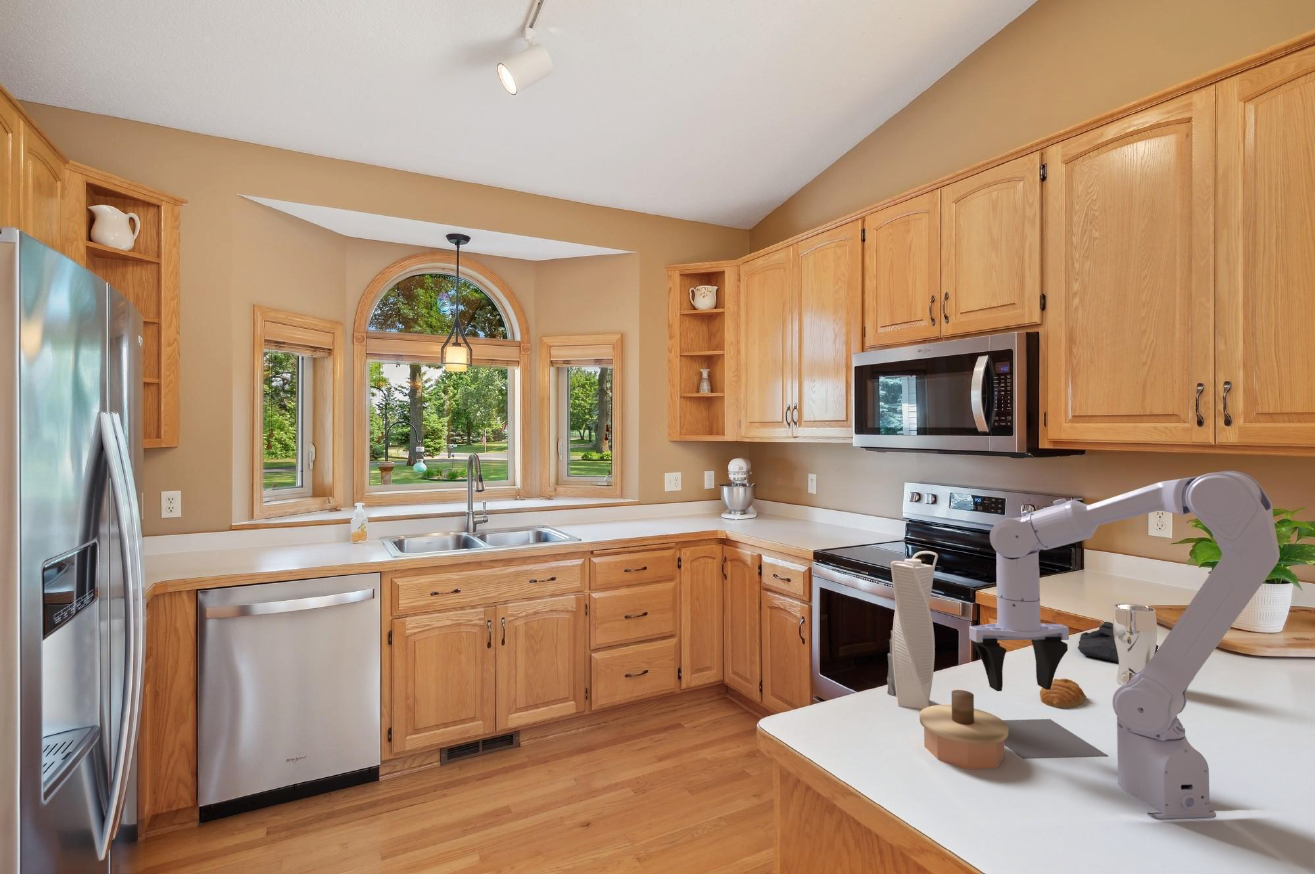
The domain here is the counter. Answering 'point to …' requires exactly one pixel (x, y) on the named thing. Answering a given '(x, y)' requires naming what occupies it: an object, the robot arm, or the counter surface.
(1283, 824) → the counter surface
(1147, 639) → the beer glass
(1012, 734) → the mat
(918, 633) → the skyscraper
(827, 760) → the counter surface
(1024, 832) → the counter surface
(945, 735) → the lid
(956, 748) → the bowl
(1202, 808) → the robot arm
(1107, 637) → the dark slate chunk
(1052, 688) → the pastry
